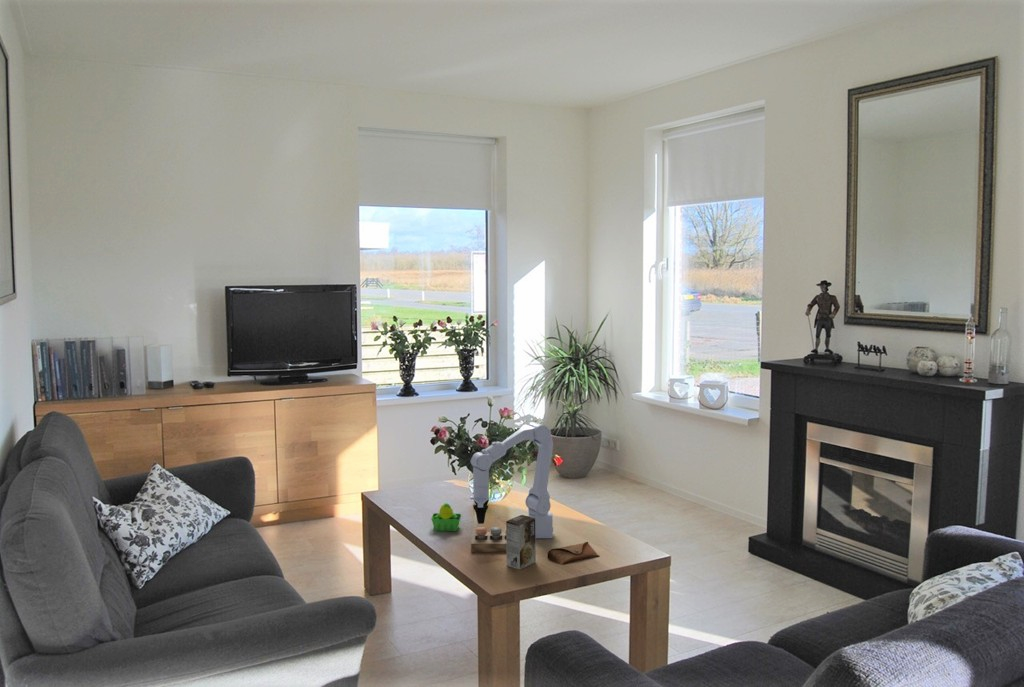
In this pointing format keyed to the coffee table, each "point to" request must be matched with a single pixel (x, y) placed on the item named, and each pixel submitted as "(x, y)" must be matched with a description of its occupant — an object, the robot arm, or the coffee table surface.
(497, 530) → the blue-grey ball
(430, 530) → the coffee table surface
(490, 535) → the wooden tray
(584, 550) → the sunglasses case
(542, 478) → the robot arm
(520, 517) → the coffee box
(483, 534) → the pink ball
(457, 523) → the fruit basket
